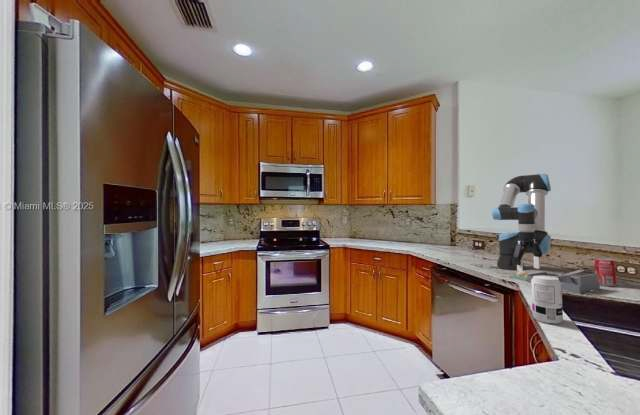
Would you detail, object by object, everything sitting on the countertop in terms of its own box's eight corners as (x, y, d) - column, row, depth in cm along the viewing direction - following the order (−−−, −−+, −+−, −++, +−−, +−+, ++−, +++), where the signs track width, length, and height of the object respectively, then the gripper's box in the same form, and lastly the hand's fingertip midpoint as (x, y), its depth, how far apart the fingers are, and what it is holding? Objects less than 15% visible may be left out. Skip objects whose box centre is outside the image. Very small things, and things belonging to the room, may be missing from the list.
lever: (538, 283, 143) (535, 279, 144) (554, 280, 148) (551, 276, 149) (574, 273, 128) (571, 268, 130) (591, 270, 133) (587, 265, 134)
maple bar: (516, 276, 158) (516, 271, 158) (521, 275, 159) (521, 271, 159) (531, 279, 150) (531, 274, 150) (536, 278, 152) (536, 273, 152)
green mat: (508, 277, 158) (508, 276, 158) (523, 275, 162) (523, 274, 162) (526, 281, 149) (526, 279, 149) (541, 278, 153) (541, 277, 153)
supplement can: (527, 316, 102) (525, 275, 102) (550, 315, 101) (548, 274, 102) (544, 325, 93) (542, 280, 94) (569, 324, 93) (567, 280, 93)
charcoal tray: (527, 282, 147) (526, 267, 147) (545, 278, 152) (545, 265, 153) (579, 293, 126) (579, 276, 126) (599, 289, 131) (599, 273, 131)
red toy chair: (620, 287, 133) (619, 260, 133) (602, 286, 135) (601, 260, 135) (608, 283, 140) (607, 257, 140) (591, 283, 142) (590, 257, 142)
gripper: (518, 233, 146) (519, 273, 146) (549, 230, 155) (550, 268, 155) (504, 232, 153) (506, 270, 153) (534, 229, 162) (536, 266, 162)
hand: (528, 269), depth 154 cm, fingers open, 13 cm apart
